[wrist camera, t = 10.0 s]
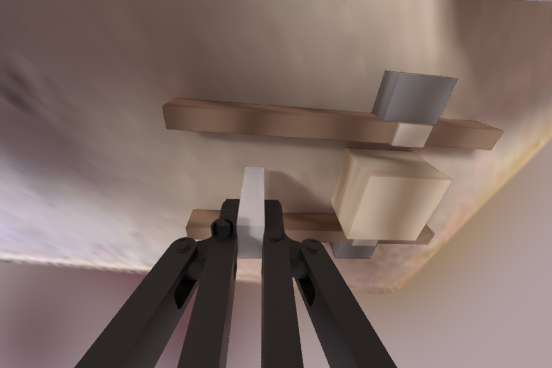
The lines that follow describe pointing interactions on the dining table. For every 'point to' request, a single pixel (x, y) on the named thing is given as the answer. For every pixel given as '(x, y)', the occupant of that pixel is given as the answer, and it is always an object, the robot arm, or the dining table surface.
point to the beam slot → (339, 126)
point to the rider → (386, 194)
